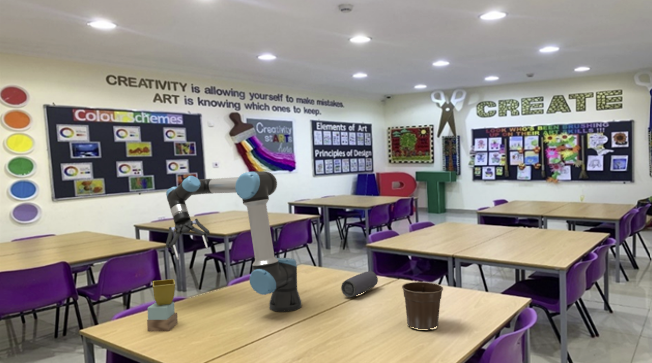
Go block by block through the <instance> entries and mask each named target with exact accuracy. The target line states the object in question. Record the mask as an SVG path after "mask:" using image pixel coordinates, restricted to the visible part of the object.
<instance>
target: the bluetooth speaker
mask: <svg viewBox="0 0 652 363" xmlns="http://www.w3.org/2000/svg"><path fill="white" fill-rule="evenodd" d="M378 282H379V278H378V275H377V274H376V273H375V271H373V270H370V271H369V270H368V271H364V272H362V273H358V274H356V275H354V276H352V277H349V278H347V279H345V280H344V281H343V282H342V283H341V286H340V287H341V288H340V290H341V292H342V294H343V296H345V297H347V298H352V297H356V295H358V294H361V293H363V292H365V291H367V292H368V291H369V290H371V289H372V288H374V287H375V286H376V285H377V284H378Z"/></svg>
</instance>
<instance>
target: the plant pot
mask: <svg viewBox="0 0 652 363" xmlns="http://www.w3.org/2000/svg"><path fill="white" fill-rule="evenodd" d="M401 289H402V291H403V297H404V301H405V312H406V323H407V324H408V325H409V326H411V327H414V328H418V329H430V328H434V327H436V326H438V327H439V320H440V319H439V317H440V308H441V307H440V306H441V300H442V292H443V291H444V287H443V286H442V285H440V284H438V283H434V282H425V281H414V282H413V281H412V282H407V283H404V284H403V285H402V286H401ZM408 325H407V326H408Z"/></svg>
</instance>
